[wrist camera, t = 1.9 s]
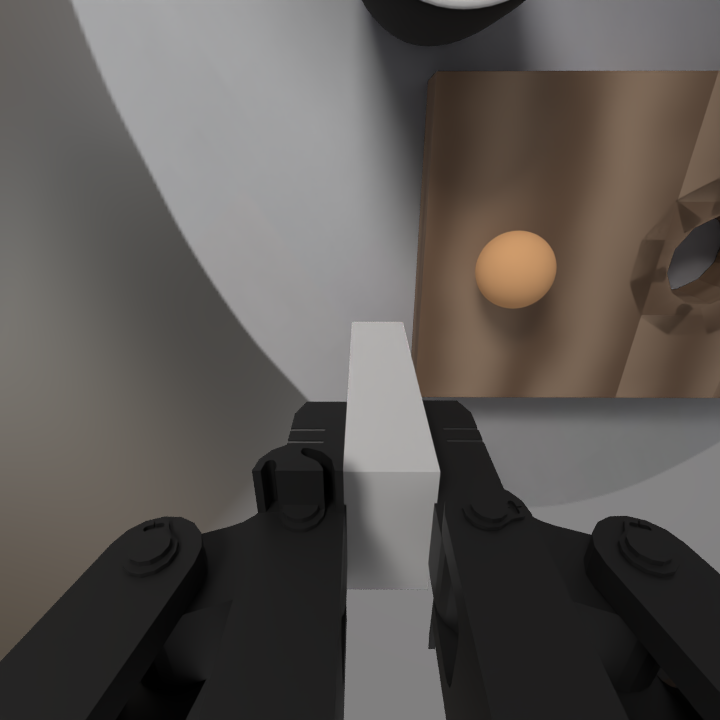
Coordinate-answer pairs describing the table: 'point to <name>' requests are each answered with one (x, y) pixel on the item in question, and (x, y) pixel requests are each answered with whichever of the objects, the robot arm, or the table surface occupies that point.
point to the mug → (437, 18)
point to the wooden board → (569, 233)
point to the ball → (515, 269)
